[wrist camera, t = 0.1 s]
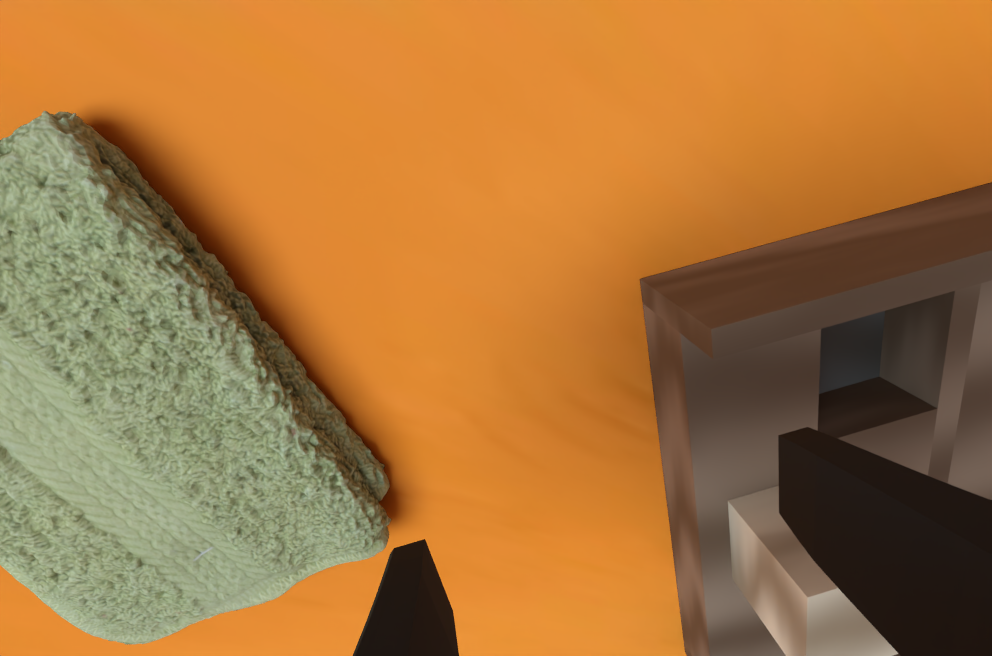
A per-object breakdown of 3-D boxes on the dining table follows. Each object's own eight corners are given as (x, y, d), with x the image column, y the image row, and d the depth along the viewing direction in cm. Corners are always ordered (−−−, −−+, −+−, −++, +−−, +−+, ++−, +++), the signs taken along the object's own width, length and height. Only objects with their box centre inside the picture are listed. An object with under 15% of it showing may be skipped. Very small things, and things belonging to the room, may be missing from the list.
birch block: (828, 549, 22) (922, 646, 18) (732, 578, 22) (805, 683, 18) (832, 469, 20) (937, 557, 16) (727, 500, 20) (807, 597, 16)
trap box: (1067, 532, 29) (1205, 618, 24) (684, 651, 28) (744, 768, 23) (1191, 127, 20) (1451, 129, 15) (639, 279, 19) (721, 335, 14)
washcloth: (152, 625, 22) (112, 702, 19) (-252, 286, 15) (-411, 325, 12) (417, 497, 22) (417, 555, 19) (125, 85, 15) (53, 76, 12)
